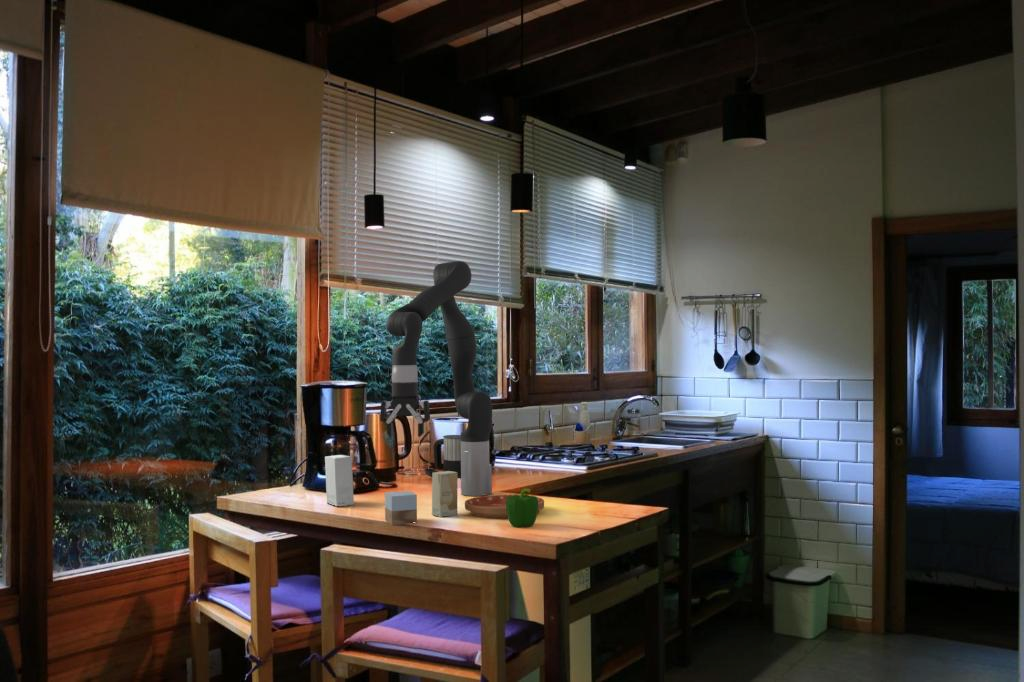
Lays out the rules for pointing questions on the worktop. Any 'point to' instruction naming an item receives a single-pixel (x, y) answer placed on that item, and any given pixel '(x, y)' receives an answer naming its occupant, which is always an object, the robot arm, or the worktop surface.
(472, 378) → the robot arm
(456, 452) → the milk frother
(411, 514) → the tower base
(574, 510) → the worktop surface
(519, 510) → the bell pepper
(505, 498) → the saucer
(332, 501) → the skincare box
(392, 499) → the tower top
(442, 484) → the skincare box
